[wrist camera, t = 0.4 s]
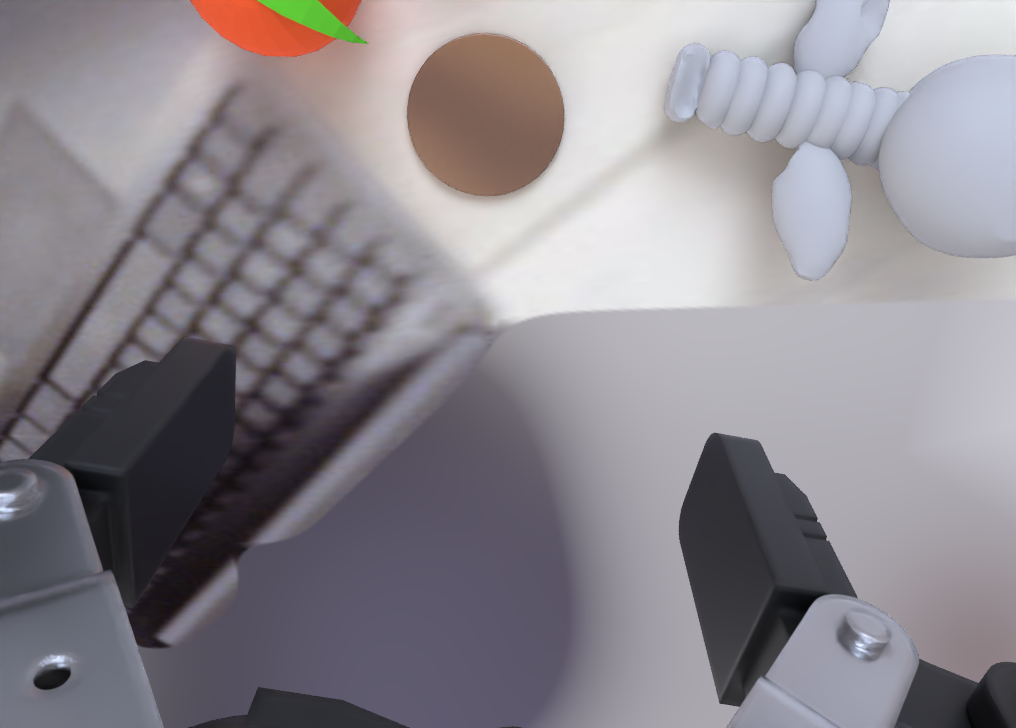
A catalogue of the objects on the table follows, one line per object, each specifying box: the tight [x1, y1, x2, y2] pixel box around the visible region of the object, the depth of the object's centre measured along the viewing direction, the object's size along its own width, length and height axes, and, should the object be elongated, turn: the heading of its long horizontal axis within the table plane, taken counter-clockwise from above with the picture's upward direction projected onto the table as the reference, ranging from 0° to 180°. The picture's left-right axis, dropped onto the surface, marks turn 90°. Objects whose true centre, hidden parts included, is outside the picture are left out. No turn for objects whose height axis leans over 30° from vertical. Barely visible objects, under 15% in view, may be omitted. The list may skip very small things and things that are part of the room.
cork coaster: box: [407, 33, 564, 196], centre depth 34 cm, size 7×7×1 cm
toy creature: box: [664, 0, 1016, 281], centre depth 31 cm, size 13×7×20 cm
